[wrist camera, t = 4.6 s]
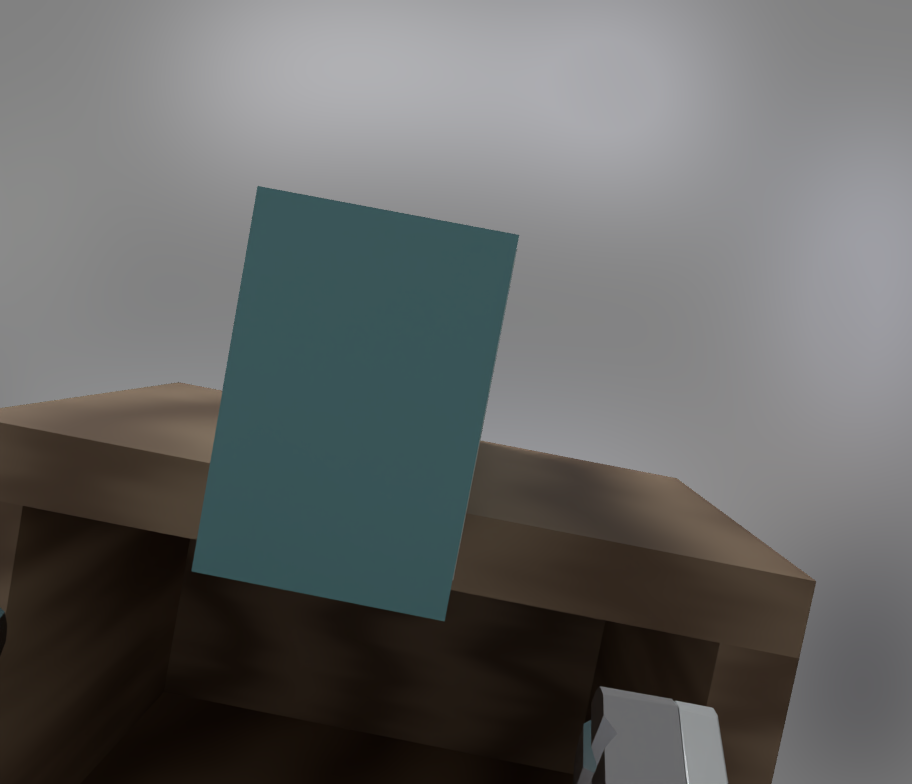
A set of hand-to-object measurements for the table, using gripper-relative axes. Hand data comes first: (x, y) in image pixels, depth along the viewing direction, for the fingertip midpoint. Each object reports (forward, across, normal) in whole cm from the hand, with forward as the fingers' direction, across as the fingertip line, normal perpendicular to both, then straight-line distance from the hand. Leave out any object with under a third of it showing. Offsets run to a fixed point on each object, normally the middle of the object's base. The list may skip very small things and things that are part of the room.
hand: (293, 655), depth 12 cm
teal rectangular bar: (+12, 0, +7) cm, 14 cm away
